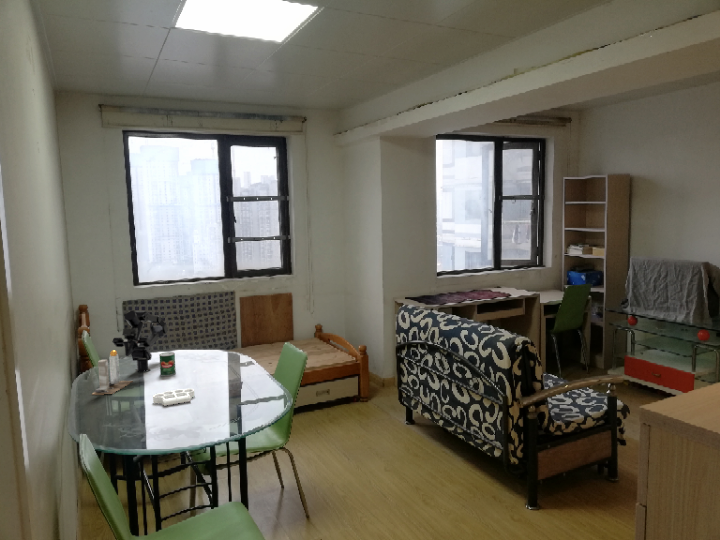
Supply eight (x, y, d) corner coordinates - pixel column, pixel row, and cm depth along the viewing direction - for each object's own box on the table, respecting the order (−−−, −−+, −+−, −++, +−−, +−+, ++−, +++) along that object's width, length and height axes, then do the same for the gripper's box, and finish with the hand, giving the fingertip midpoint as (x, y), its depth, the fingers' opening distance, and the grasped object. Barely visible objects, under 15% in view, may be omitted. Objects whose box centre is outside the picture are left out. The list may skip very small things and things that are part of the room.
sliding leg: (109, 382, 265) (107, 349, 263) (120, 382, 265) (118, 349, 263) (105, 384, 261) (103, 351, 259) (116, 384, 261) (114, 351, 259)
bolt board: (114, 382, 271) (112, 351, 270) (133, 381, 270) (131, 351, 269) (92, 394, 251) (89, 362, 249) (112, 394, 250) (110, 361, 249)
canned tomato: (163, 376, 279) (162, 356, 278) (158, 373, 285) (156, 353, 284) (178, 373, 284) (177, 353, 283) (172, 370, 290) (171, 351, 289)
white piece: (156, 409, 229) (151, 399, 242) (198, 401, 238) (192, 393, 251) (155, 401, 229) (151, 392, 242) (198, 394, 238) (191, 386, 250)
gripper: (112, 322, 279) (102, 347, 269) (147, 322, 278) (138, 347, 268) (121, 334, 287) (112, 359, 277) (154, 333, 286) (146, 358, 276)
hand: (126, 355), depth 274 cm, fingers closed
